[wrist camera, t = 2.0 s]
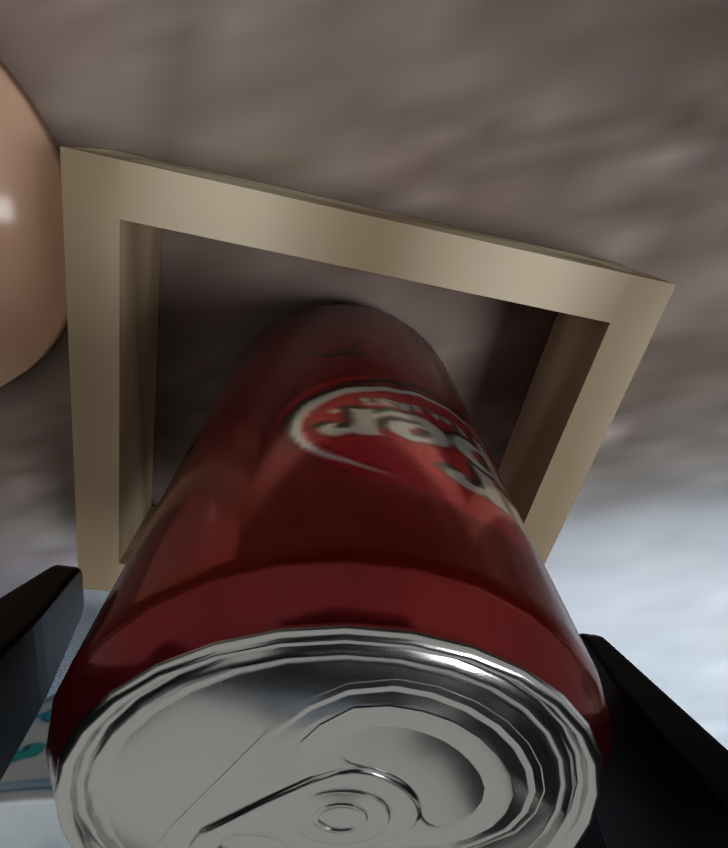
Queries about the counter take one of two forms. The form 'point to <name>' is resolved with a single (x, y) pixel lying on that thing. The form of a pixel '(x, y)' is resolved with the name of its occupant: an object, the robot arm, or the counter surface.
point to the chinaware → (30, 793)
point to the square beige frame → (335, 244)
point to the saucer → (28, 234)
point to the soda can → (332, 628)
